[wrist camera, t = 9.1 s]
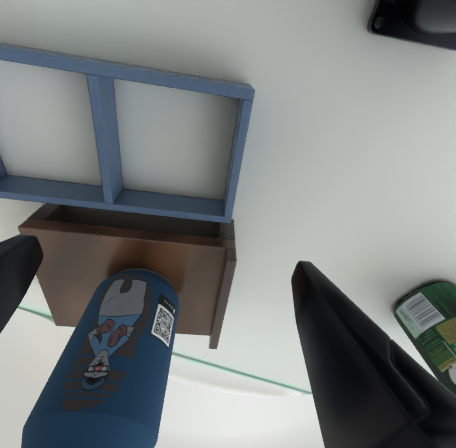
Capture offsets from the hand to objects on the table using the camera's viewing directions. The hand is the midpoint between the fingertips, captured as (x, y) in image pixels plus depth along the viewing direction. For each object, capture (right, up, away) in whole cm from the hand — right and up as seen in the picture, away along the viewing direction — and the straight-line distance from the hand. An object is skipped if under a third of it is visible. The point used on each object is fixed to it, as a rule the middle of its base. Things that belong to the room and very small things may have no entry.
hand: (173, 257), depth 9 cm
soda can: (-6, -5, +14) cm, 15 cm away
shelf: (-6, -2, +17) cm, 18 cm away
